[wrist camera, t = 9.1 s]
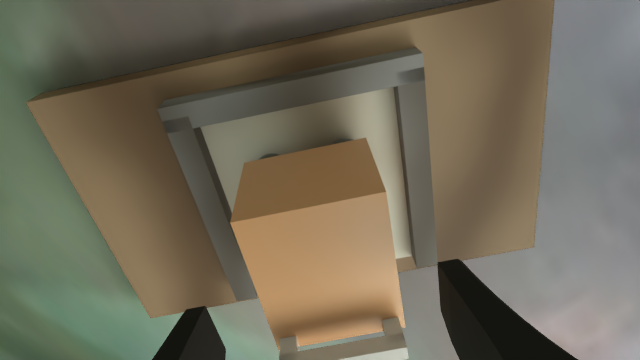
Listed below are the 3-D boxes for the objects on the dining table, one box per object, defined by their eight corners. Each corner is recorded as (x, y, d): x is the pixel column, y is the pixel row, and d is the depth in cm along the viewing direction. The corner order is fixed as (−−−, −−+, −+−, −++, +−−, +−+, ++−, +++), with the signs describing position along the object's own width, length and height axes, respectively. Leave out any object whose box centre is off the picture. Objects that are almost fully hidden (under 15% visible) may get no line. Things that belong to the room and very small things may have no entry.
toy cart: (380, 240, 20) (414, 357, 14) (282, 259, 20) (277, 381, 14) (361, 125, 17) (395, 216, 11) (247, 149, 17) (223, 250, 11)
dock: (156, 301, 23) (144, 333, 21) (42, 92, 17) (10, 111, 15) (522, 232, 22) (544, 260, 20) (537, -14, 16) (571, -9, 14)
